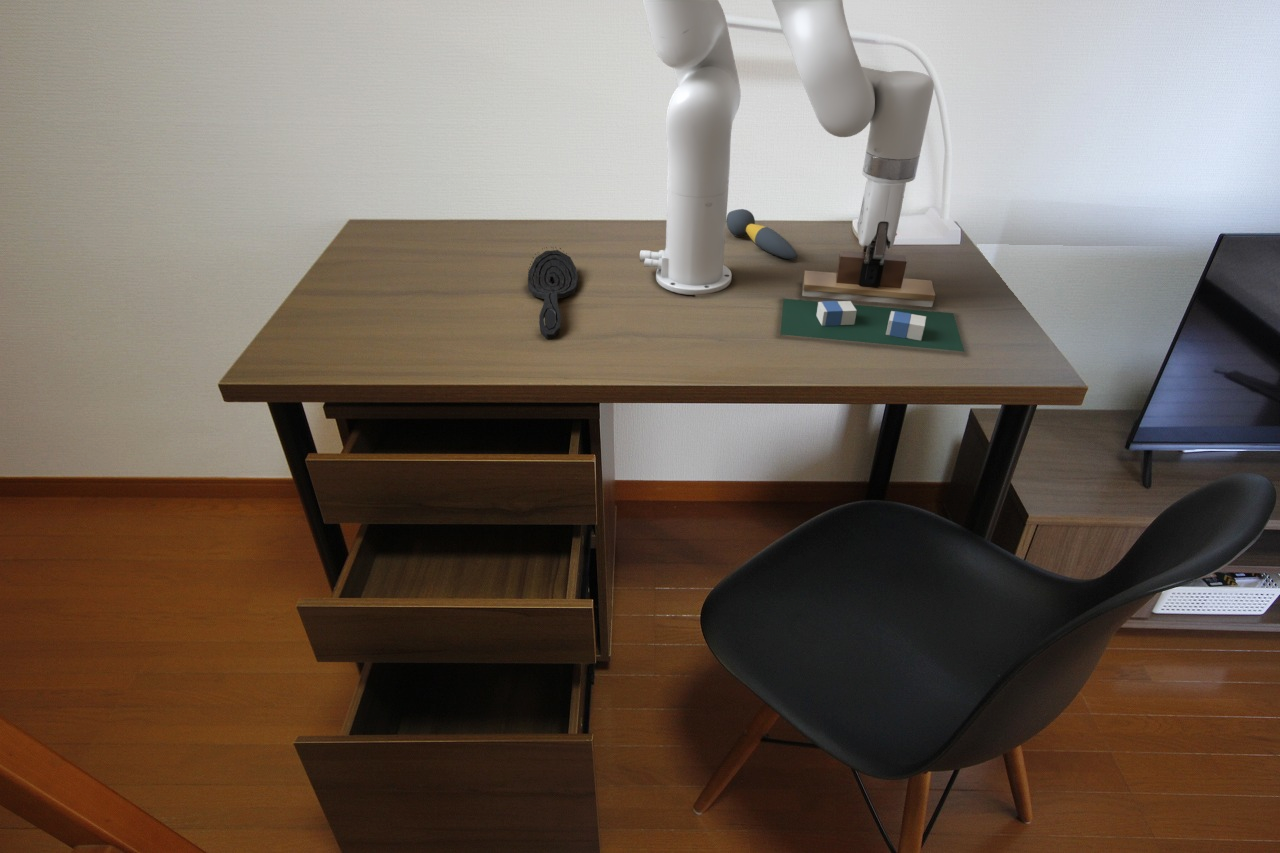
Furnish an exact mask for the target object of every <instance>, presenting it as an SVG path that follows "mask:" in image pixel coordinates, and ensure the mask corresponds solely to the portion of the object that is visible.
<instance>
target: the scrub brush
mask: <svg viewBox="0 0 1280 853" xmlns="http://www.w3.org/2000/svg"><path fill="white" fill-rule="evenodd" d="M865 255H866V252H863V251H853V250H839V255H838V256H839V257H838V261H837V268H836V272H830V271H829V272H828V271H816V270H806V269H805V270H804V271H803V272H804V273H803V278H802V279H803V280H802V294H801V295H802V297H809V298H824V299H833V300H834V299H836V300H843V301H856V302H857V301H858V302H869V303H879V304H881V303H882V304H893V305H902V306H903V305H905V306H915V307H927V308H932V307H933V305H934V302H935V298H936V292H935V290H934V285H933V281H932V280H929V279H928V280H927V279H915V278H905V273H906V268H907V264H908V261H907V256H906V255H904V254H892V253H891V254H890V253H885V258H884V267H883V272H882V277H881V282H880V286H879V287H878V288H876V287H864V286H859V278H860V272H861V267H862V261H865Z"/></svg>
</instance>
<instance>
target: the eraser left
mask: <svg viewBox="0 0 1280 853" xmlns="http://www.w3.org/2000/svg"><path fill="white" fill-rule="evenodd" d="M817 302H818V308H817V314H816V316H817V318H818V320H819V322H820V323H821V325H822V326H840V325H854V323H855V318H856V312H857V310H856V309H855V307H854V305H855V304H853V302H852V300H822V301H817Z"/></svg>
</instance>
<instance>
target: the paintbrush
mask: <svg viewBox="0 0 1280 853" xmlns="http://www.w3.org/2000/svg"><path fill="white" fill-rule="evenodd" d="M755 222H756V220H755V216H754V214H753V213H752V212H751V211H750V210H748V209H744V208H738V209H734V210H731V211H729V212H727V216H726V227H727V229H728V231H729V232H730V234H732V235H733V236H735V237H738V238H742V237H747V236H749V238H750V240H752V242H753V243H754V244H755V245H756V246H757V247H758V248H760V249H761V250H763V251H765V252H766V253H769V254H771V255H773V256H776V257H779V258H782V259H784V260H791V261H792V260H796V259H797V258H798V253H797V252H796V249H795V247H794V246H793V245H792V244H791V243H790V242H788V240H787V239H786V238H784V236H782V235H781V234H779V233H778V232H777V231H775V230H774V229H772V228H770V227H769V226H764V225H760V224H756V223H755Z"/></svg>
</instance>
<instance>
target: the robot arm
mask: <svg viewBox="0 0 1280 853" xmlns="http://www.w3.org/2000/svg"><path fill="white" fill-rule="evenodd" d="M771 2H772V5H773V8H774V10H775V13H776V15H777V17H778V21H779V24H780V27H781V31H782V34H783V35H784V38H785V40H786V42H787V46H788V47H789V49H790V54H791V56H792V58H793V61H794V64H795V67H796V70H797V72H798V75H799V78H800V80H801V83H802V85H803V88H804V90H805V93H806V95H807V97H808V99H809V102H810V105H811V107H812V110H813V112H814V114H815V117H816V118H817V120H818V122H819V124H820V125H821V127H822V128H823V129H824V131H826V132H827V133H828V134H830V135H832V136H834V137H838V138H850V137H853V136H856V135H858V134H860V133H861V132H862V131H863V130H865V129H866V128H867V126H869V132H868V137H867V144H866V150H865V153H864V160H863V166H862V171H861V174H862V176H863V177H865V178H866V183H865V187H864V191H863V196H862V201H861V206H860V211H859V215H858V221H857V239H858V244H859V245H860V247H862V248H863V249H862V252H866V255H865V261H862V267H861V272H860V278H859V286H864V287H876V288H878V287H879V286H880V282H881V277H882V272H883V267H884V258H885V254H887V253H886V252H887V249H888V250H889V249H892V248H893V246H894V243H895V240H896V236H897V231H898V227H899V222H900V218H901V212H902V207H903V203H904V198H905V191H906V185H907V183H910V182H914V180H916V177H917V176H916V175H917V171H918V167H919V162H920V157H921V151H922V147H923V143H924V138H925V133H926V128H927V123H928V119H929V114H930V109H931V104H932V100H933V95H934V89H935V84H934V81H933V78H932V77H931V76H930V75H928V74H926V73H924V72H919V71H913V70H894V71H893V70H892V71H886V70H885V71H884V70H879V69H874V68H870V67H866V66H865V67H864V66H862V65H861V62H860V59H859V56H858V54H857V50H856V48H855V45H854V43H853V40H852V36H851V33H850V30H849V26H848V23H847V19H846V15H845V9H844V1H843V0H771ZM642 5H643V8H644V12H645V16H646V20H647V25H648V28H649V34H650V38H651V43H652V45H653V50H654V51H655V54H656V55H657V57H658V58H659V59H660V60H661V62H662V63H663V64H665V65H666V66H668V67H670V68H672V69H673V73H674V77H675V80H676V84H677V87H676V88H675V90H674V92H673V93H672V95H671V97H670V100H669V101H668V102H669V103H668V105H667V111H666V115H665V137H666V154H667V155H666V156H667V159H666V160H667V162H666V163H667V164H666V165H667V167H666V168H667V171H666V172H667V175H666V177H667V178H666V179H667V180H666V187H667V188H666V226H665V228H666V230H665V248H664V249H659V250H658V251H652V250H645V249H643V250H642V249H641V250H640V252H639V263H640V262H641V263H643V266H644V268H657V269H656V270H655V280H656V282H657V283H658V285H659V286H660V287H662V288H663V289H665V290H667V291H669V292H671V293H676V294H681V295H686V296H687V295H688V296H696V295H707V294H713V293H716V292H719V291H721V290H724V289H726V288H728V287H729V285H730V284H731V283H732V276H733V275H732V271H731V269H730V268H729V267H727V266H726V265H724V256H725V243H726V230H727V229H726V228H727V221H726V219H727V215H728V202H729V199H728V198H729V185H730V184H729V183H730V169H731V142H732V141H731V140H732V131H733V130H732V129H733V124H734V120H735V118H736V115H737V113H738V110H739V109H740V108H739V107H740V105H741V97H742V96H741V95H742V94H741V84H740V79H739V75H738V70H737V65H736V60H735V55H734V51H733V46H732V42H731V36H730V31H729V28H728V23H727V22H728V21H727V18H726V16H725V12H724V9H723V6H722V5H721V3H720V1H719V0H642Z"/></svg>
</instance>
